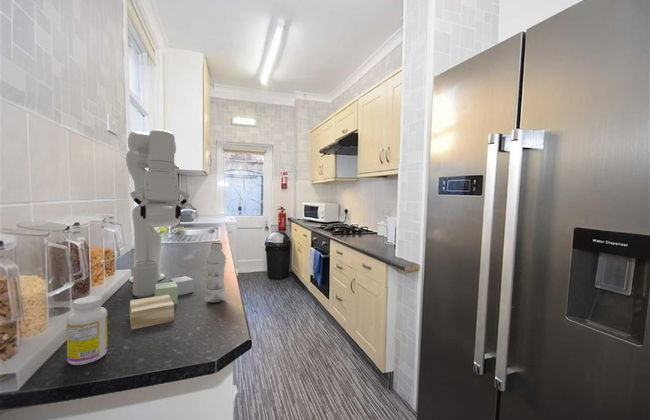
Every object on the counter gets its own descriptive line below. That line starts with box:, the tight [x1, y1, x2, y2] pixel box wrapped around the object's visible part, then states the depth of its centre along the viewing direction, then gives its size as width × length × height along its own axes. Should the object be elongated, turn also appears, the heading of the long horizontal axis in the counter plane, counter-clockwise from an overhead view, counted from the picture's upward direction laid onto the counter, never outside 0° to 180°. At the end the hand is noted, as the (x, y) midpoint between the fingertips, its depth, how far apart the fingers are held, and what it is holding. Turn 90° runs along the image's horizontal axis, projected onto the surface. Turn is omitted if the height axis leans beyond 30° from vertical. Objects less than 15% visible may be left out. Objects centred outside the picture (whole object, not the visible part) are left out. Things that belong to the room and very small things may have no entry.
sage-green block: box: [154, 282, 179, 305], centre depth 93 cm, size 6×6×6 cm
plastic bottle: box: [204, 242, 227, 304], centre depth 95 cm, size 6×7×20 cm
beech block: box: [129, 295, 175, 330], centre depth 80 cm, size 10×10×5 cm
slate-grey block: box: [168, 275, 194, 296], centre depth 103 cm, size 6×6×5 cm
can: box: [132, 260, 159, 298], centre depth 99 cm, size 8×8×12 cm
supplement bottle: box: [66, 295, 108, 366], centre depth 60 cm, size 7×7×13 cm
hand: (161, 218), depth 94 cm, fingers open, 9 cm apart
